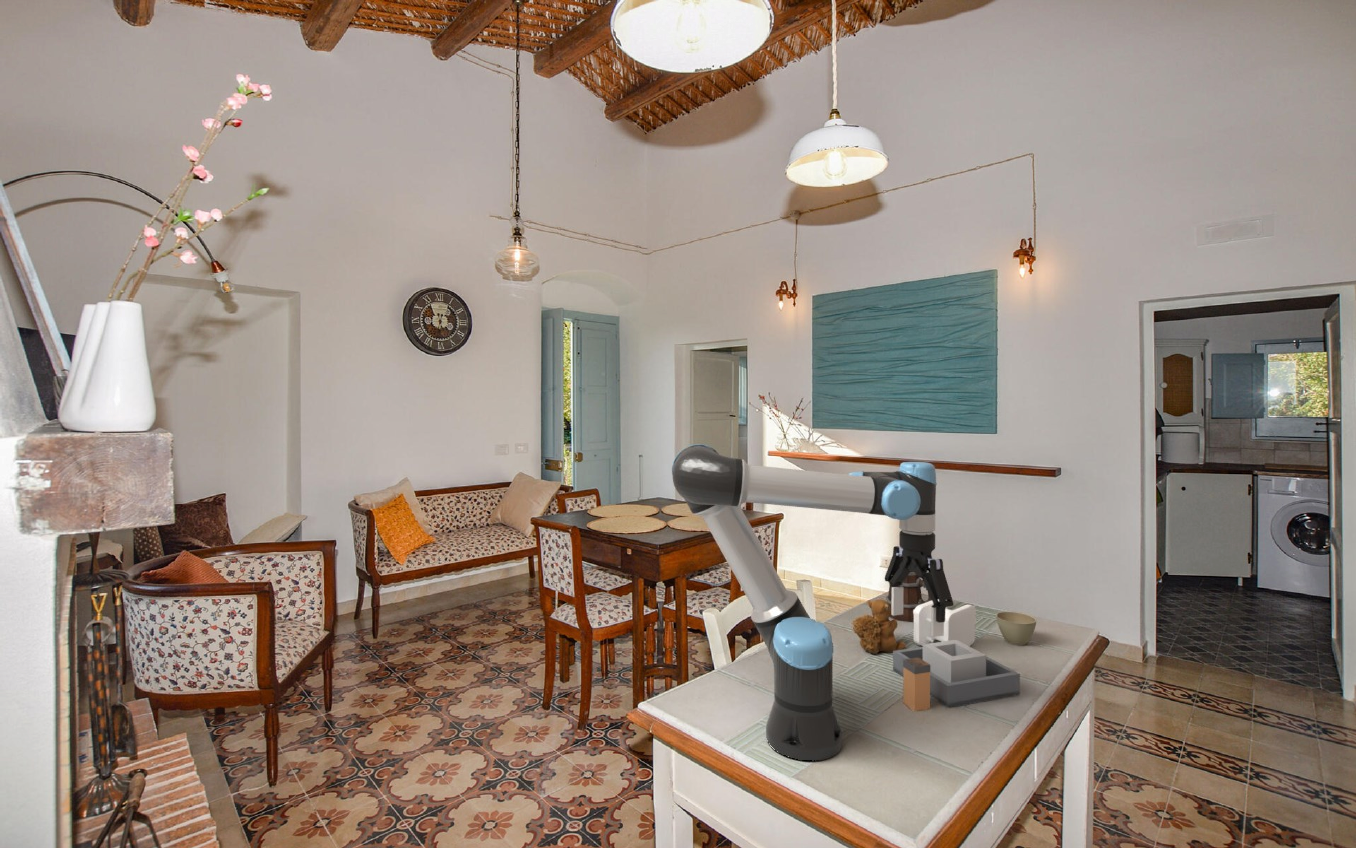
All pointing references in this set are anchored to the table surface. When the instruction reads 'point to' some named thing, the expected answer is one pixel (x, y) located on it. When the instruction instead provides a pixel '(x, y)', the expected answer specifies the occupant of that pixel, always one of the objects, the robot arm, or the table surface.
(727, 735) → the table surface
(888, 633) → the stuffed squirrel
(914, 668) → the plug
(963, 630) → the cable organizer
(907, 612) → the mug
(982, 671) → the box
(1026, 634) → the beige bowl
